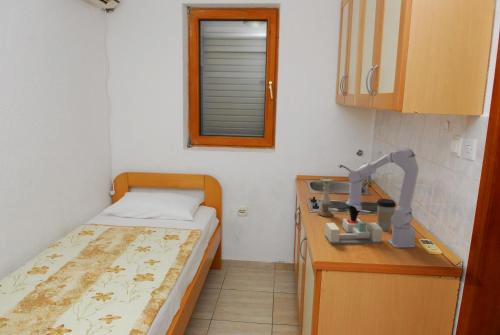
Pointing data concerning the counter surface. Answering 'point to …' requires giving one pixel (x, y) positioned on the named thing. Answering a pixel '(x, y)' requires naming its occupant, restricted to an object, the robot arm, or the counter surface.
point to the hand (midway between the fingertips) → (353, 220)
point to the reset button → (352, 221)
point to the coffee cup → (385, 213)
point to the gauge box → (348, 226)
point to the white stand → (353, 235)
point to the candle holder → (325, 198)
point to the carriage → (361, 230)
